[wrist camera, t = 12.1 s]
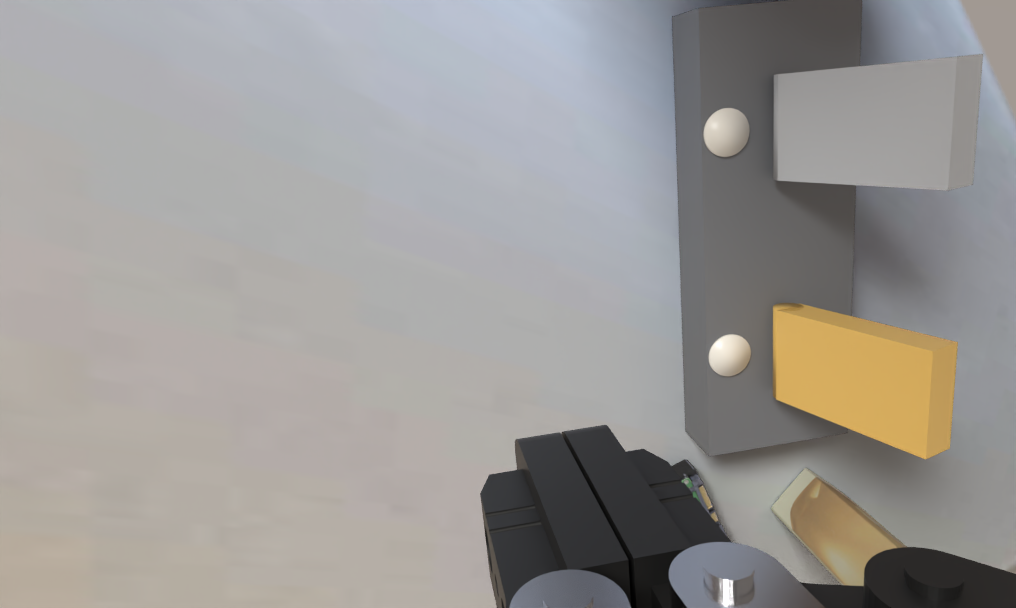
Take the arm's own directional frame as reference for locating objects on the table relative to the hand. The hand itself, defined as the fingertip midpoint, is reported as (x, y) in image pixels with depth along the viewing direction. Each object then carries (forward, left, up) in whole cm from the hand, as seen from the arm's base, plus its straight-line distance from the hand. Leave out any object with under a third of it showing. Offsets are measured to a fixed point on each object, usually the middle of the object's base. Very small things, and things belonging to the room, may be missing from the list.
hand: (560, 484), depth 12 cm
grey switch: (-3, +21, -30) cm, 37 cm away
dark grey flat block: (+4, +21, -35) cm, 41 cm away
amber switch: (+11, +21, -30) cm, 38 cm away
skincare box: (+26, +26, -35) cm, 51 cm away
